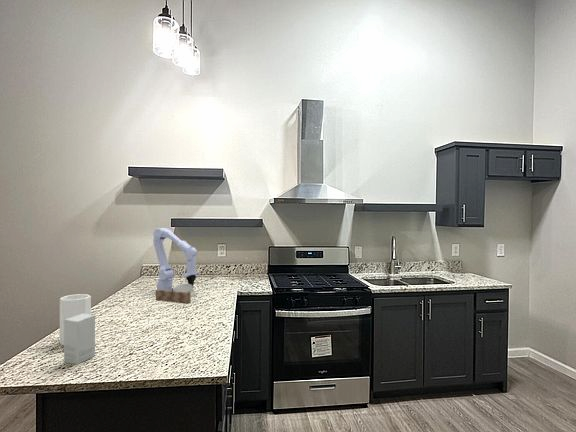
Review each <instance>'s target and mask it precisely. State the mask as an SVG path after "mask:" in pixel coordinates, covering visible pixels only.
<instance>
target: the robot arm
mask: <svg viewBox="0 0 576 432" xmlns="http://www.w3.org/2000/svg"><path fill="white" fill-rule="evenodd" d="M152 234H153V239H152V240H153V241H152V242H153V246H154V249H155V253H156V257H157V261H158V264H159V268H158V281H157V283H156V290H167V291H169V290H171V289H172V288H173V278H174V276H175V271H174V269H173V268H172V266H171V265H170V264H169V262H168V257H167V255H166V249H165V248H164V244H163V243H164V241H165V239H170V241H172V242H174V243H175V244H176V245H177V248H179V249H180V250H181V251H182V252H183V253H184V255H185V257H186V273H184V274H182V275H183V276H182V278H186V280H187V284H191V285H192V287H193V288H194V284H195V281H196V279H197V275H199V274H200V272H199V271H197V268H196V267H197V255H198V249H197V248H196V247H193V246H192V245H191V244H189V243H187V241H186V240H181V239H180V238H179V237H178V236H177V235H176V234H174V233H173V231H172V230H170V228H168V227H157V228H155V229H154V230H153V233H152Z"/></svg>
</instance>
